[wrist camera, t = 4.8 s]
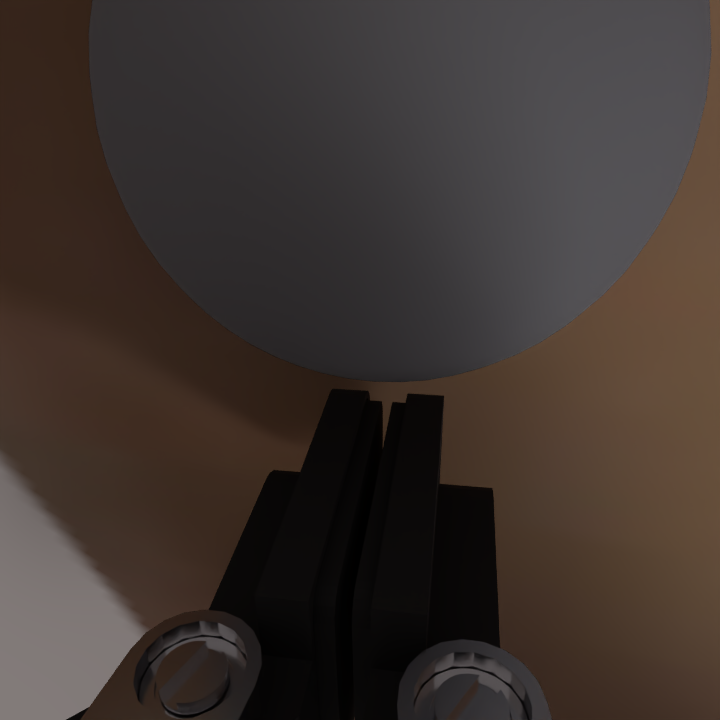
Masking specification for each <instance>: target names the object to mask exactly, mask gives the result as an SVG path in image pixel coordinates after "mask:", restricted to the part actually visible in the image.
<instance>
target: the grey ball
mask: <svg viewBox="0 0 720 720" xmlns="http://www.w3.org/2000/svg"><path fill="white" fill-rule="evenodd" d="M710 60H711V33H710V5H709V0H92V8H91V17H90V25H89V72H90V82H91V91H92V98H93V105H94V112H95V119H96V126H97V130H98V134H99V138H100V141H101V145H102V149H103V152H104V156H105V160H106V163H107V165H108V168H109V170H110V173H111V175H112V178H113V180H114V183H115V185H116V188H117V190H118V193H119V195H120V197H121V200H122V202H123V204H124V207H125V209H126V211H127V213H128V215H129V216H130V218H131V220H132V222H133V224H134V226H135V227H136V229H137V231H138V233H139V235H140V237H141V238H142V240H143V241H144V242H145V244H146V245H147V247H148V248H149V250H150V251H151V253H152V254H153V255H154V257H155V258H156V260H157V261H158V263H159V264H160V265H161V266H162V267H163V268H164V270H165V271H166V272H167V273H168V274H169V275H170V277H171V278H172V279H173V280H174V281H175V282H176V283H177V285H178V286H179V287H180V288H181V289H182V290H183V291H184V292H185V293H186V294H187V295H188V296H189V297H190V298H191V299H192V300H193V301H194V302H195V303H196V304H197V305H199V306H200V307H201V308H202V309H203V310H204V311H205V312H206V313H207V314H208V315H210V316H211V317H212V318H214V319H215V320H216V321H217V322H219V323H220V324H221V325H223V326H224V327H225V328H226V329H228V330H229V331H231V332H232V333H234V334H236V335H237V336H239V337H240V338H242V339H243V340H245V341H247V342H248V343H250V344H252V345H253V346H255V347H257V348H259V349H261V350H263V351H265V352H267V353H269V354H271V355H273V356H275V357H278V358H280V359H283V360H285V361H288V362H290V363H293V364H295V365H298V366H301V367H304V368H307V369H311V370H314V371H317V372H321V373H324V374H329V375H334V376H339V377H344V378H348V379H357V380H366V381H375V382H408V381H422V380H430V379H436V378H442V377H448V376H453V375H457V374H461V373H464V372H468V371H472V370H476V369H479V368H482V367H485V366H488V365H491V364H493V363H496V362H498V361H501V360H504V359H506V358H509V357H511V356H514V355H516V354H518V353H520V352H522V351H524V350H526V349H528V348H530V347H532V346H534V345H536V344H538V343H540V342H542V341H543V340H545V339H546V338H548V337H549V336H551V335H552V334H554V333H555V332H557V331H558V330H560V329H561V328H563V327H564V326H566V325H567V324H569V323H570V322H571V321H572V320H574V319H575V318H576V317H577V316H578V315H580V314H581V313H582V312H583V311H584V310H586V309H587V308H588V307H589V306H590V305H592V304H593V303H594V302H595V301H596V300H598V299H599V298H600V297H601V296H602V295H604V294H605V292H606V291H607V290H608V289H609V288H610V287H611V286H612V285H613V284H614V283H615V282H616V281H617V280H618V279H619V278H620V277H621V276H622V274H623V273H624V272H625V271H626V270H627V269H628V268H629V266H630V265H631V263H632V262H633V261H634V259H635V258H636V257H637V255H638V254H639V253H640V251H641V250H642V249H643V247H644V246H645V244H646V243H647V242H648V240H649V239H650V237H651V236H652V234H653V233H654V231H655V230H656V228H657V227H658V225H659V223H660V221H661V220H662V218H663V216H664V214H665V212H666V211H667V209H668V207H669V205H670V204H671V202H672V200H673V198H674V196H675V195H676V192H677V190H678V187H679V185H680V182H681V180H682V177H683V175H684V172H685V170H686V167H687V165H688V162H689V160H690V157H691V154H692V151H693V147H694V144H695V141H696V137H697V133H698V129H699V125H700V121H701V117H702V113H703V109H704V105H705V101H706V97H707V88H708V78H709V69H710Z"/></svg>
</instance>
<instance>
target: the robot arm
mask: <svg viewBox="0 0 720 720" xmlns="http://www.w3.org/2000/svg"><path fill="white" fill-rule="evenodd" d="M443 408H444V396H438V395H423V394H407V399H406V403H398V402H393V403H392V407H391V412H390V417H389V422H388V426H387V431H386V436H385V441H384V446H383V408H382V401H370V396H369V392H368V391H361V390H345V389H332V390H331V392H330V394H329V397H328V399H327V402H326V405H325V407H324V410H323V413H322V416H321V418H320V421H319V424H318V426H317V429H316V432H315V434H314V437H313V440H312V442H311V445H310V448H309V450H308V453H307V456H306V458H305V461H304V464H303V467H302V469H301V472H290V471H278V470H273V471H272V472H270V474H269V475H268V477H267V479H266V481H265V483H264V485H263V488H262V490H261V492H260V495H259V497H258V499H257V501H256V504H255V506H254V508H253V510H252V513H251V515H250V517H249V520H248V522H247V524H246V526H245V529H244V531H243V533H242V535H241V538H240V540H239V542H238V545H237V547H236V549H235V551H234V554H233V556H232V558H231V561H230V563H229V565H228V567H227V570H226V572H225V574H224V576H223V579H222V581H221V583H220V586H219V588H218V590H217V592H216V595H215V597H214V599H213V601H212V604H211V606H210V608H209V610H199V611H192V612H186V613H182V614H180V615H177V616H175V617H172V618H169V619H167V620H164V621H163V622H161V623H160V624H158V625H157V626H155V627H154V628H152V629H151V630H149V631H148V632H146V633H145V634H144V635H143V636H142V638H141V639H140V640H139V641H138V642H137V643H136V644H135V645H134V646H133V647H132V648H131V650H130V651H129V652H128V654H127V655H126V656H125V658H124V659H123V661H122V662H121V663H120V665H119V666H118V668H117V669H116V670H115V672H114V674H113V675H112V676H111V678H110V679H109V680H108V682H107V683H106V684H105V686H104V687H103V689H102V690H101V691H100V693H99V694H98V696H97V697H96V699H95V700H94V701H93V703H92V704H91V706H90V707H88V708H86V709H85V710H83V711H81V712H79V713H78V714H76V715H74V716H72V717H70V718H68V719H67V720H354V716H355V720H552V718H551V714H550V711H549V707H548V703H547V701H546V698H545V696H544V694H543V691H542V689H541V687H540V685H539V682H538V681H537V679H536V678H535V677H534V676H533V675H532V673H531V672H530V671H529V670H528V669H527V667H526V666H525V665H524V664H523V663H522V662H520V661H519V660H518V659H516V658H515V657H513V656H512V655H511V654H509V653H508V652H506V651H505V650H503V649H500V639H499V615H498V592H497V569H496V545H495V522H494V499H493V490H492V488H483V487H470V486H458V485H446V484H440V465H441V446H442V427H443Z"/></svg>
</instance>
